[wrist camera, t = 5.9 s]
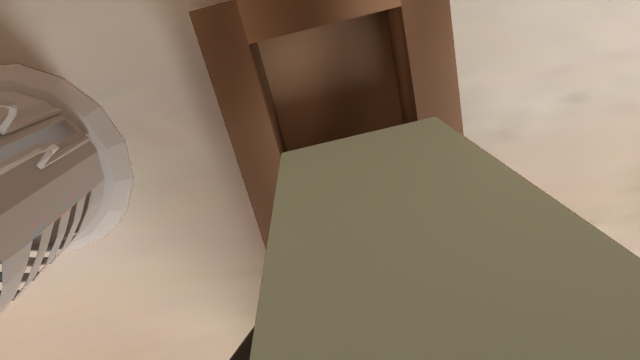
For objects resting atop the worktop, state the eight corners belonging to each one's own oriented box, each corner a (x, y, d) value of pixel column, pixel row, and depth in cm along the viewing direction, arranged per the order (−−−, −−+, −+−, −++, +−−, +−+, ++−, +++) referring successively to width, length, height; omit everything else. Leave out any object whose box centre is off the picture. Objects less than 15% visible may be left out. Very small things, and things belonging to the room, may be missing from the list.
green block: (435, 116, 11) (1044, 538, 2) (453, 250, 13) (845, 838, 4) (281, 152, 12) (196, 693, 2) (317, 281, 13) (355, 913, 4)
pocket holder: (413, -39, 18) (443, -53, 14) (455, 283, 24) (484, 331, 20) (211, 13, 18) (188, 12, 14) (304, 316, 24) (305, 370, 21)
